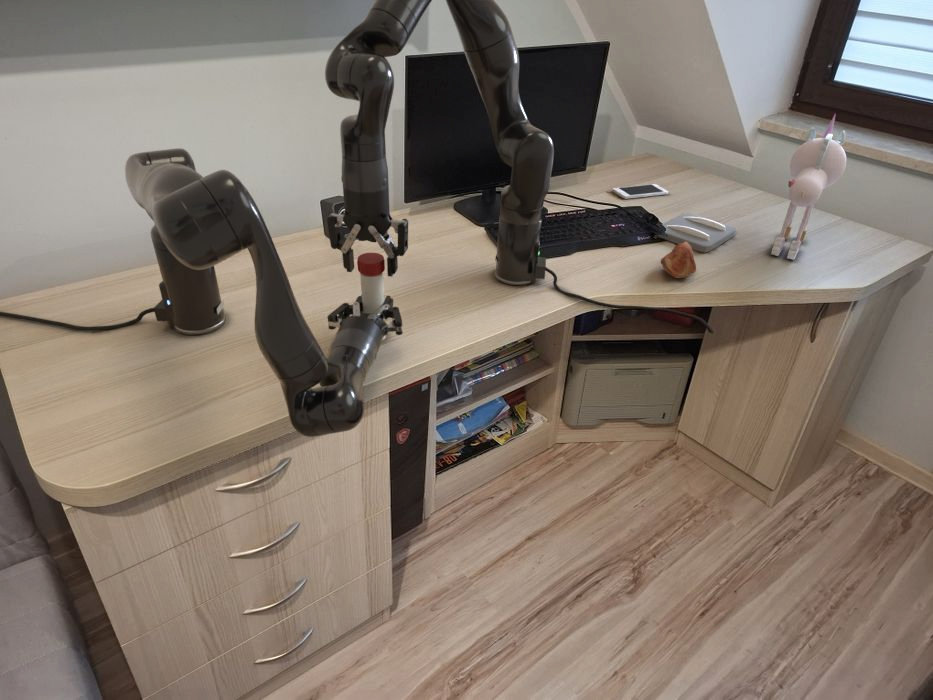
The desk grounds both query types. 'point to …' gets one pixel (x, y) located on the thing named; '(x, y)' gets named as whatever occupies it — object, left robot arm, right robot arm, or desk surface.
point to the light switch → (697, 232)
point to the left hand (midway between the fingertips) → (376, 299)
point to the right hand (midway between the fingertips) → (370, 272)
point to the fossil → (680, 261)
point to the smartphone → (640, 191)
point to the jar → (372, 293)
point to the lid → (371, 264)
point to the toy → (811, 180)
